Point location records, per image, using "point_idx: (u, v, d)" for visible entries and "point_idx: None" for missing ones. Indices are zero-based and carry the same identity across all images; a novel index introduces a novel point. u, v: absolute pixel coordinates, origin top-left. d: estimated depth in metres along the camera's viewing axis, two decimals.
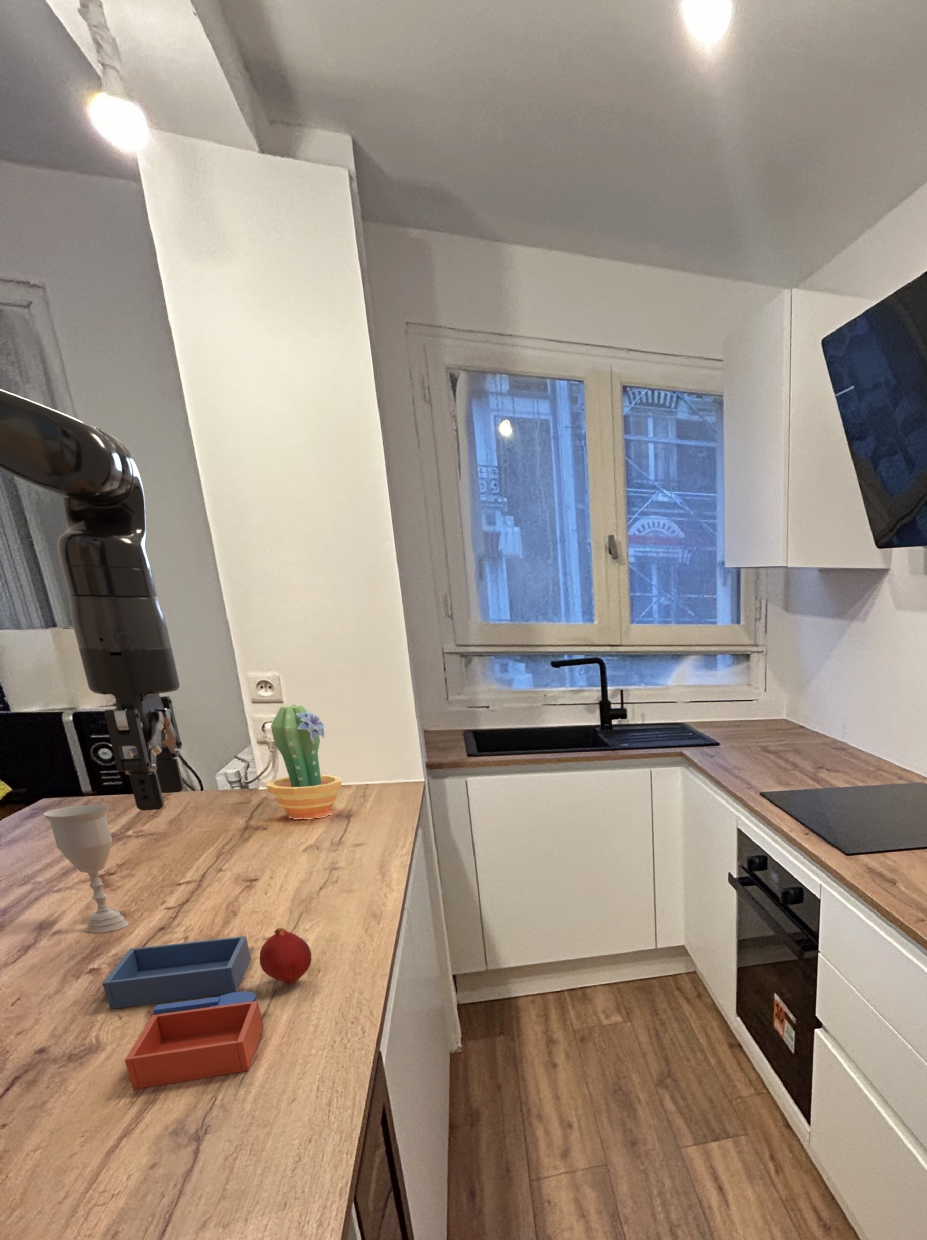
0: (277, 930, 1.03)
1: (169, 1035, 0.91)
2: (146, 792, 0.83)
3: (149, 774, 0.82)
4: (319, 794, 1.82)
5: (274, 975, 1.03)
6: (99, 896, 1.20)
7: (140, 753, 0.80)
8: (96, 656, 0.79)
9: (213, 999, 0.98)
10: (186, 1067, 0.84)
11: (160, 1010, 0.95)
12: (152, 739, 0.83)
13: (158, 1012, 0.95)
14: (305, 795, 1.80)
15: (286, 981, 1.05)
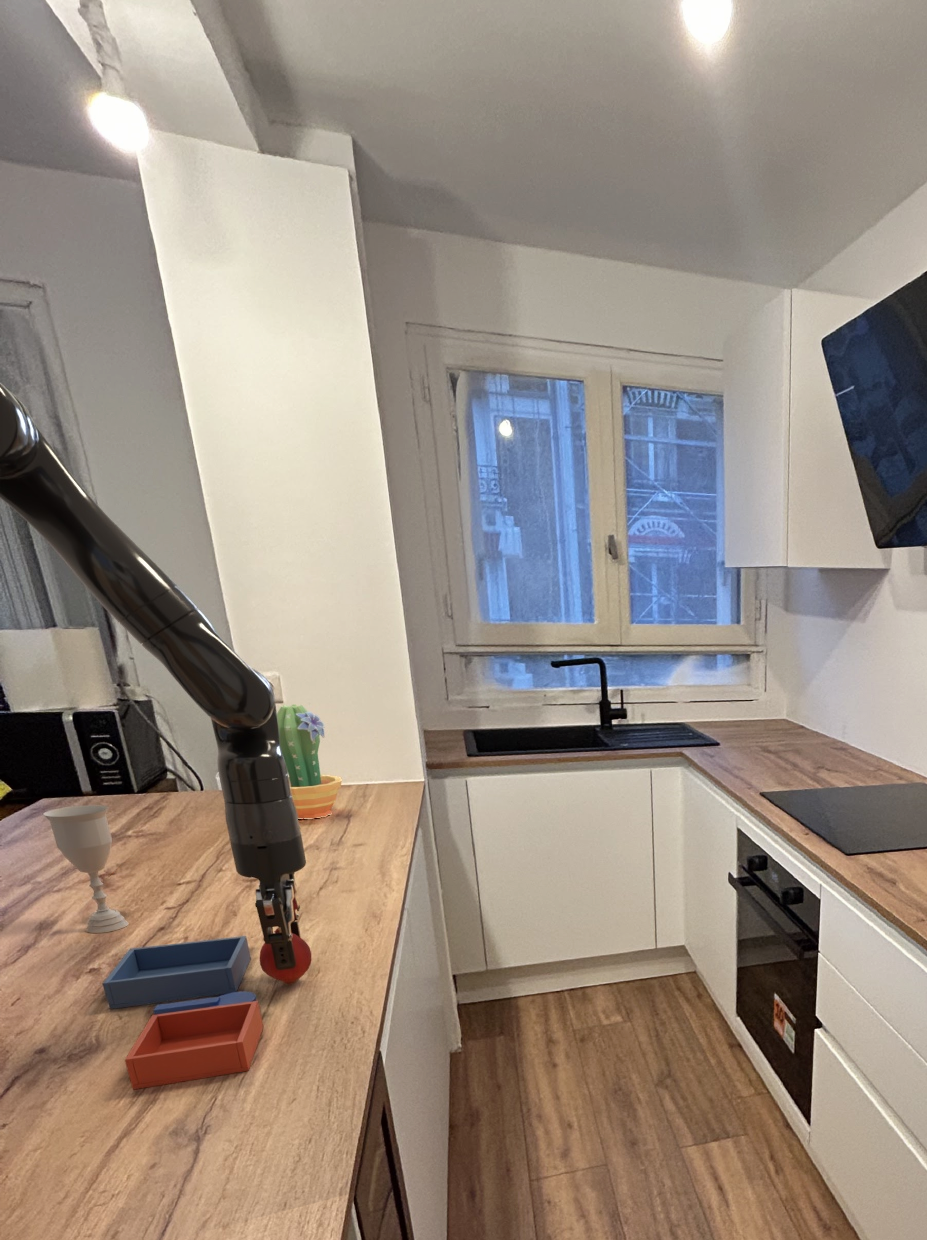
0: (277, 930, 1.03)
1: (169, 1035, 0.91)
2: (284, 956, 1.01)
3: (286, 942, 1.01)
4: (319, 794, 1.82)
5: (274, 975, 1.03)
6: (99, 896, 1.20)
7: (283, 931, 0.98)
8: (246, 850, 0.97)
9: (213, 999, 0.98)
10: (186, 1067, 0.84)
11: (160, 1010, 0.95)
12: (288, 913, 1.01)
13: (158, 1012, 0.95)
14: (305, 795, 1.80)
15: (286, 981, 1.05)
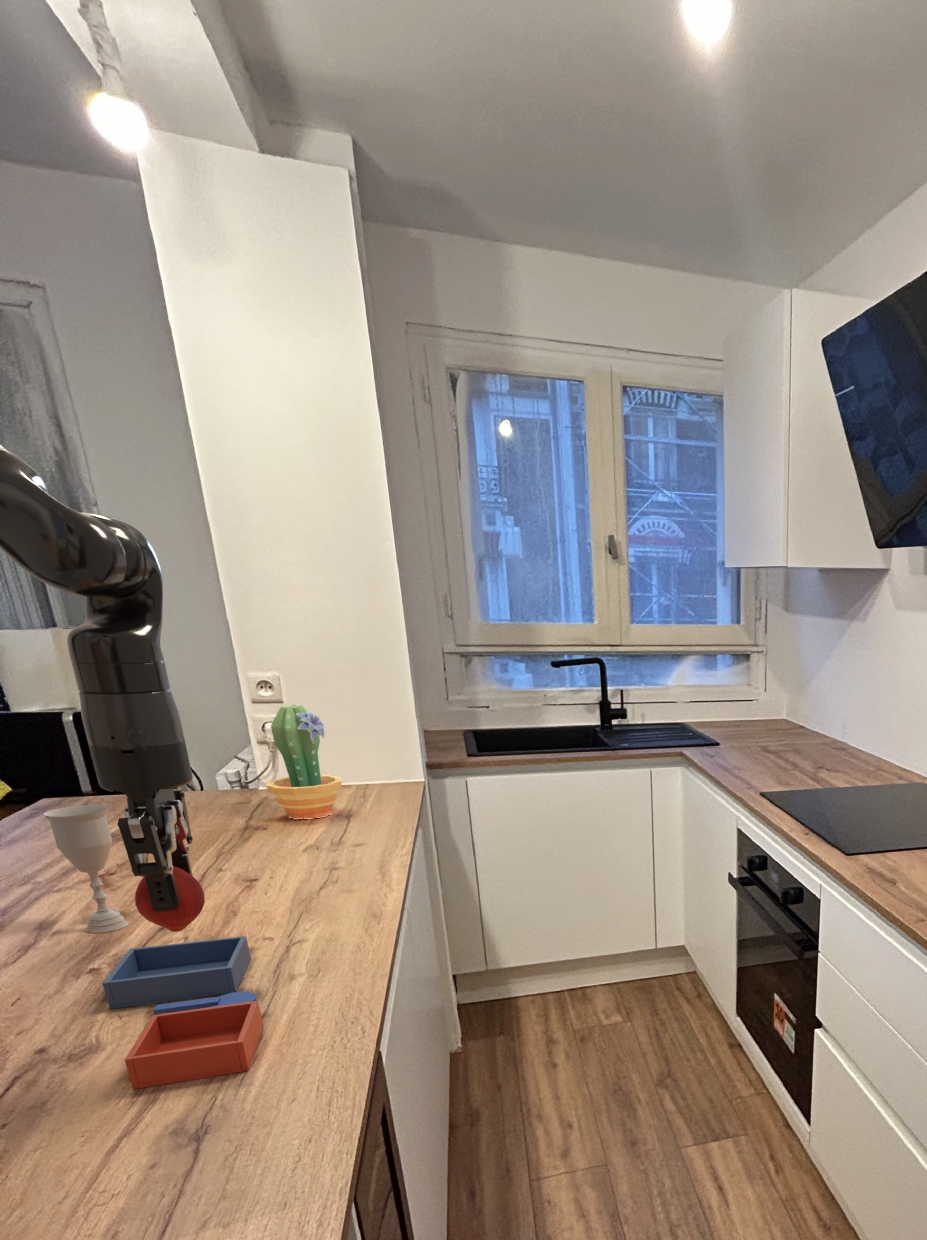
0: None
1: (169, 1035, 0.91)
2: (162, 894, 0.80)
3: (165, 875, 0.80)
4: (319, 794, 1.82)
5: (154, 919, 0.83)
6: (99, 896, 1.20)
7: (157, 860, 0.78)
8: (107, 754, 0.76)
9: (213, 999, 0.98)
10: (186, 1067, 0.84)
11: (160, 1010, 0.95)
12: (167, 839, 0.80)
13: (158, 1012, 0.95)
14: (305, 795, 1.80)
15: (171, 927, 0.84)
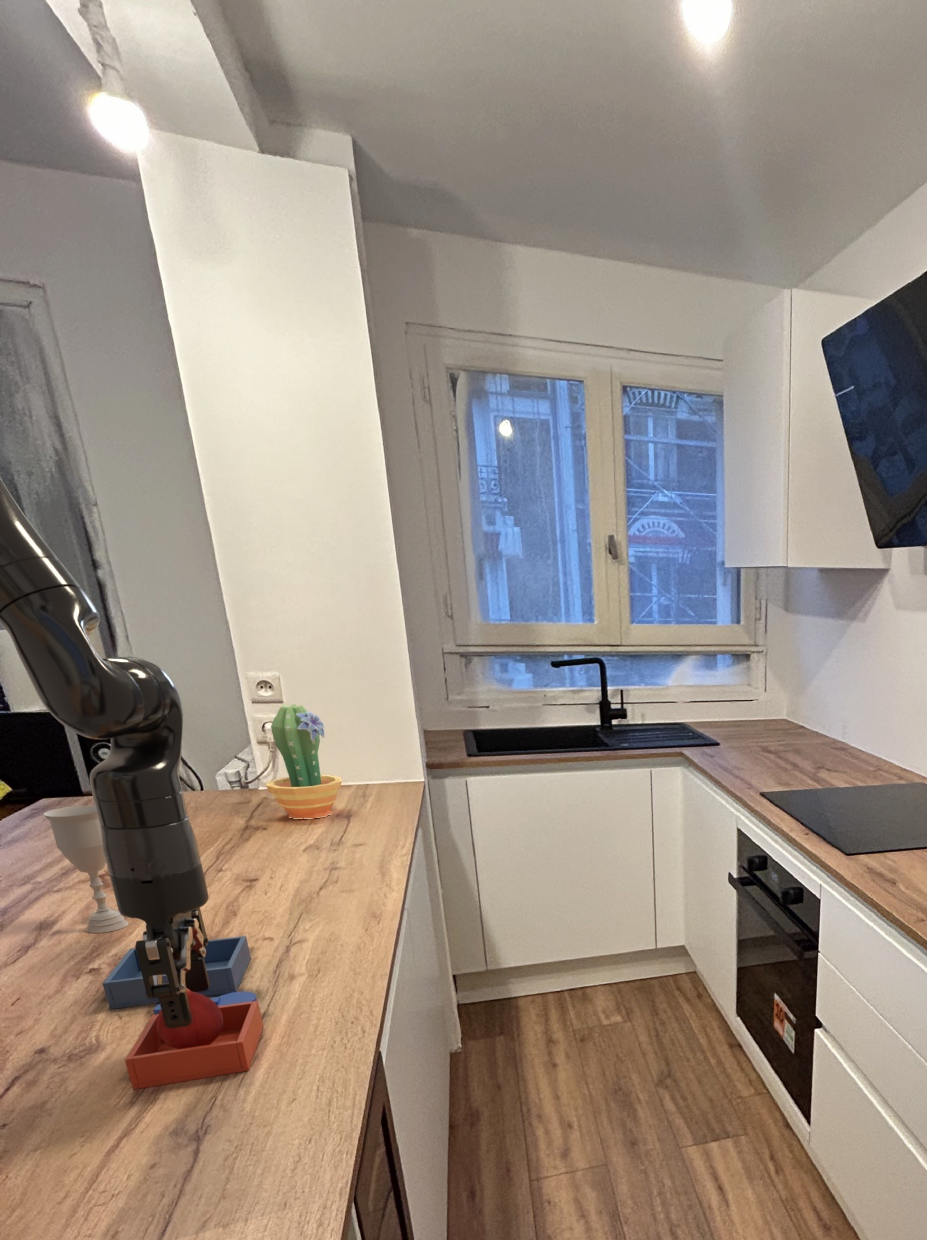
0: None
1: None
2: (175, 1012, 0.82)
3: (178, 994, 0.82)
4: (319, 794, 1.82)
5: (175, 1046, 0.86)
6: (99, 896, 1.20)
7: (170, 981, 0.79)
8: (127, 885, 0.79)
9: (213, 999, 0.98)
10: (186, 1067, 0.84)
11: (160, 1010, 0.95)
12: (181, 958, 0.82)
13: (158, 1012, 0.95)
14: (305, 795, 1.80)
15: None
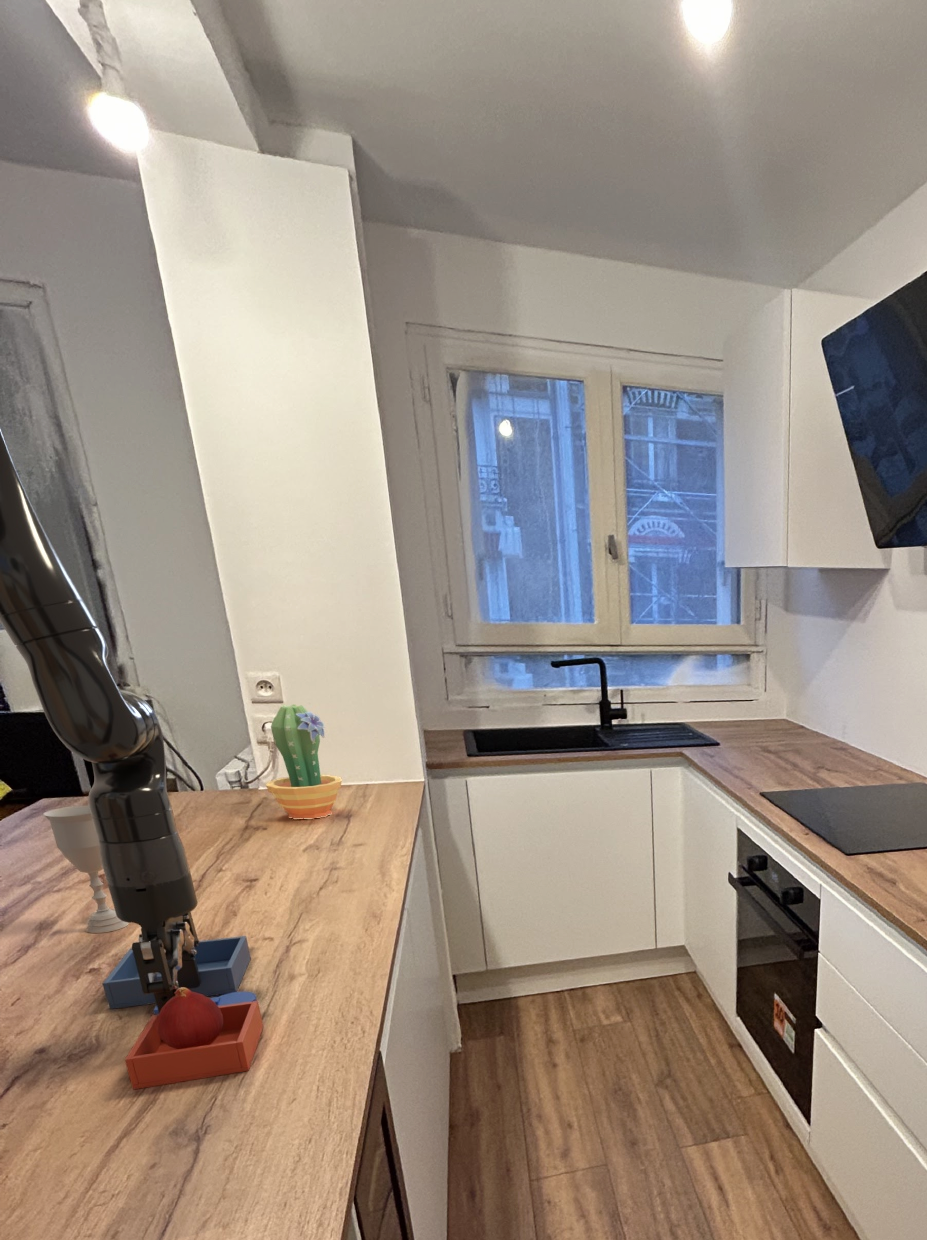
0: (178, 991, 0.86)
1: None
2: None
3: (171, 990, 0.91)
4: (319, 794, 1.82)
5: (175, 1046, 0.86)
6: (99, 896, 1.20)
7: (164, 978, 0.89)
8: (123, 893, 0.88)
9: (213, 999, 0.98)
10: (186, 1067, 0.84)
11: None
12: (174, 958, 0.92)
13: (158, 1012, 0.95)
14: (305, 795, 1.80)
15: None
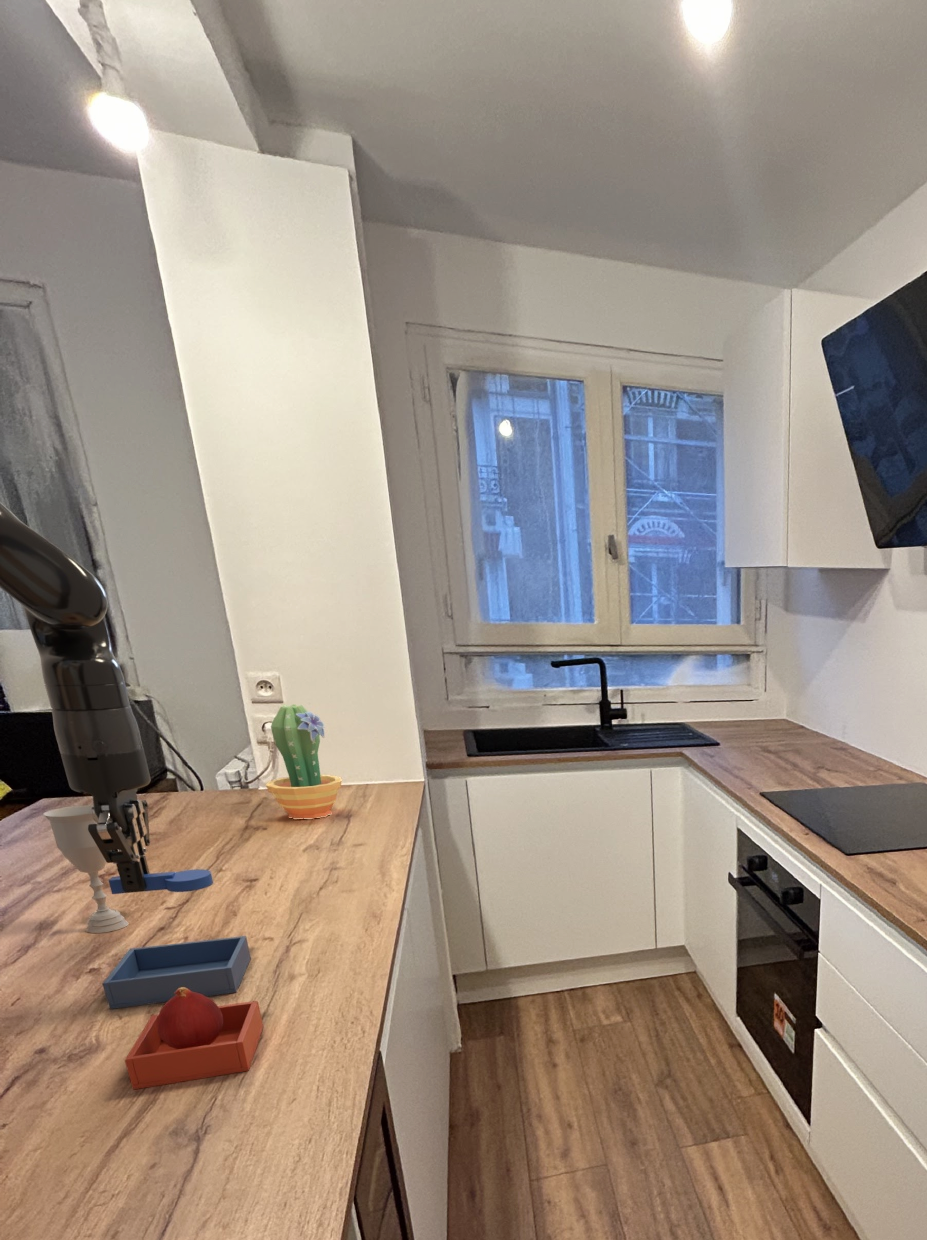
0: (178, 991, 0.86)
1: None
2: (131, 878, 0.97)
3: (133, 862, 0.97)
4: (319, 794, 1.82)
5: (175, 1046, 0.86)
6: (99, 896, 1.20)
7: (125, 853, 0.94)
8: (75, 761, 0.90)
9: (168, 873, 1.00)
10: (186, 1067, 0.84)
11: (115, 881, 0.98)
12: (131, 834, 0.96)
13: (113, 882, 0.98)
14: (305, 795, 1.80)
15: None
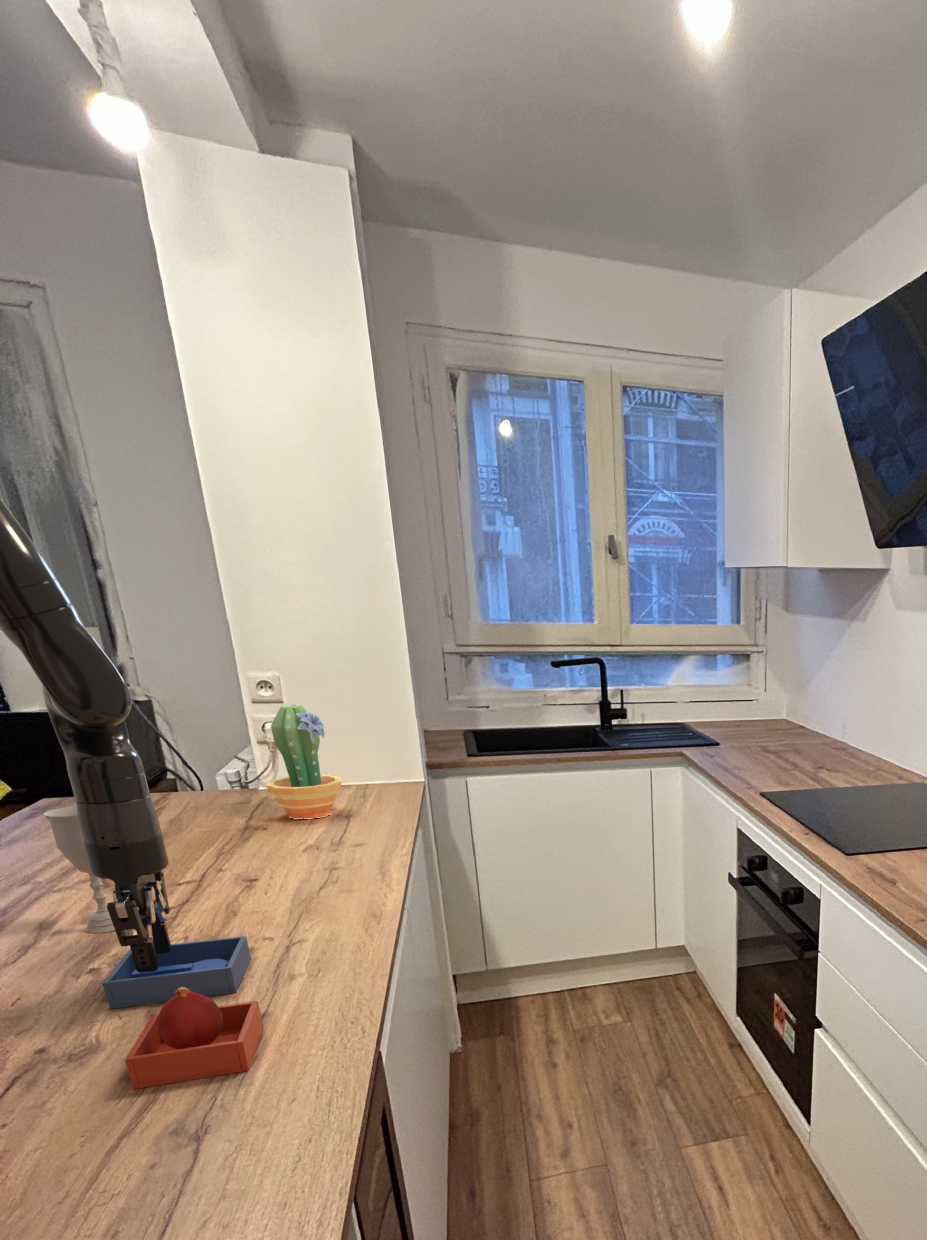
0: (178, 991, 0.86)
1: None
2: (144, 959, 1.00)
3: (146, 944, 1.00)
4: (319, 794, 1.82)
5: (175, 1046, 0.86)
6: (99, 896, 1.20)
7: (139, 934, 0.97)
8: (98, 850, 0.95)
9: (187, 965, 1.05)
10: (186, 1067, 0.84)
11: (137, 974, 1.03)
12: (147, 915, 0.99)
13: (135, 976, 1.03)
14: (305, 795, 1.80)
15: None
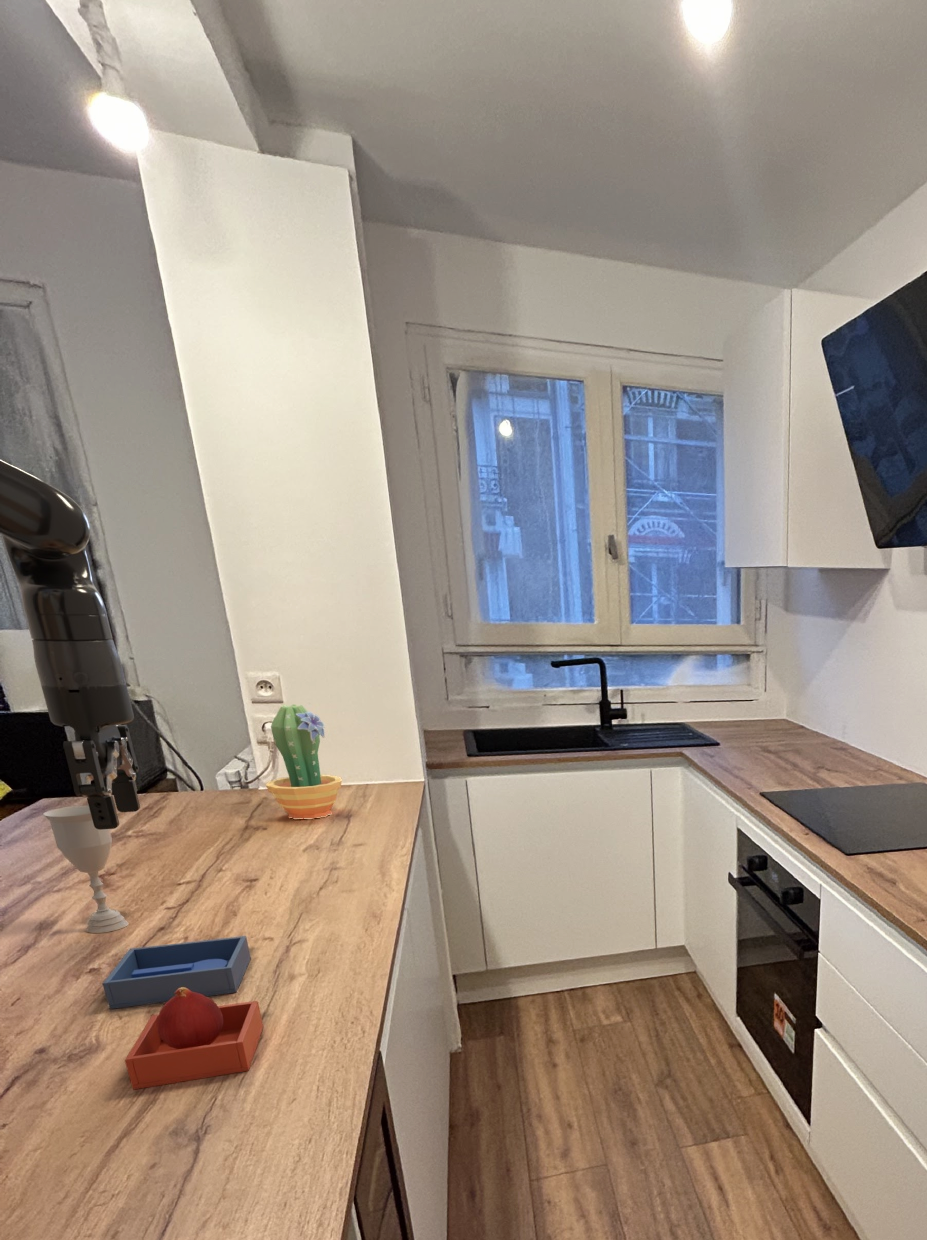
0: (178, 991, 0.86)
1: None
2: (102, 813, 0.92)
3: (105, 797, 0.92)
4: (319, 794, 1.82)
5: (175, 1046, 0.86)
6: (99, 896, 1.20)
7: (96, 779, 0.90)
8: (56, 693, 0.89)
9: (187, 965, 1.05)
10: (186, 1067, 0.84)
11: (137, 974, 1.03)
12: (108, 766, 0.93)
13: (135, 976, 1.03)
14: (305, 795, 1.80)
15: None
